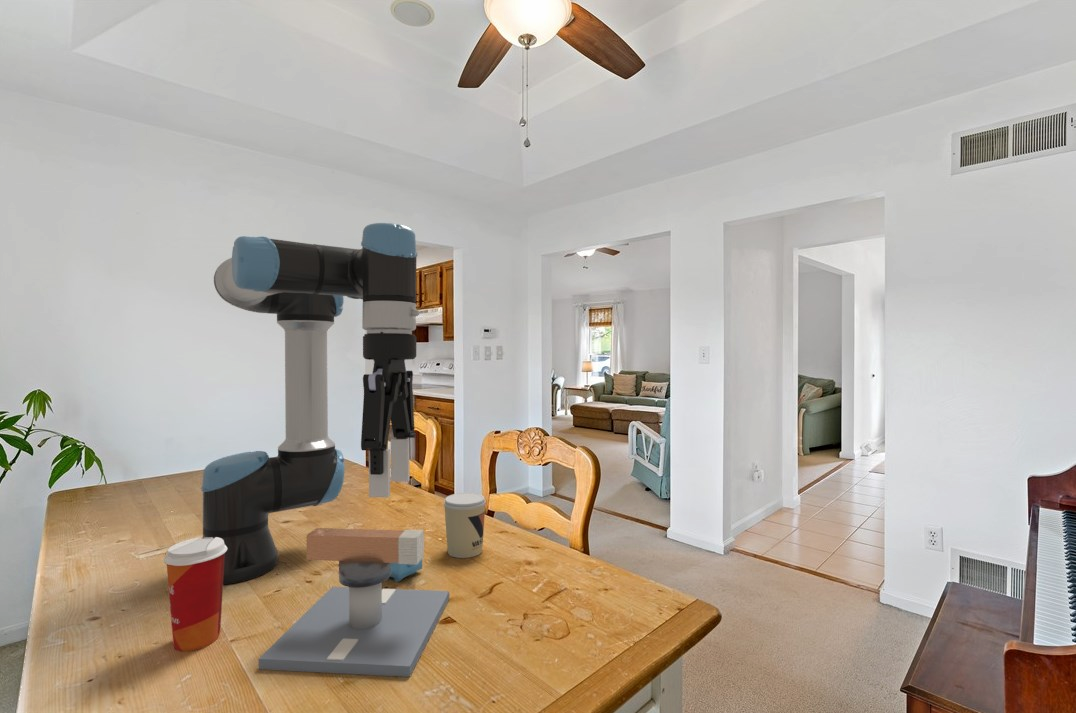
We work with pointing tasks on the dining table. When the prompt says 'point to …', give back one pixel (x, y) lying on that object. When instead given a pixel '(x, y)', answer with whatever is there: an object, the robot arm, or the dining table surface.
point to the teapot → (404, 570)
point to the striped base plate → (360, 632)
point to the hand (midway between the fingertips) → (390, 488)
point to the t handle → (365, 552)
